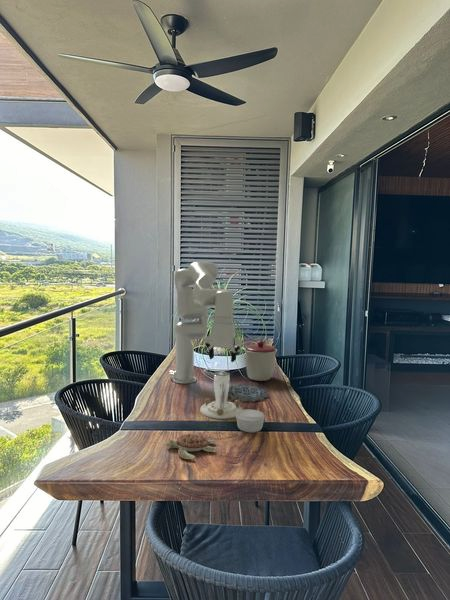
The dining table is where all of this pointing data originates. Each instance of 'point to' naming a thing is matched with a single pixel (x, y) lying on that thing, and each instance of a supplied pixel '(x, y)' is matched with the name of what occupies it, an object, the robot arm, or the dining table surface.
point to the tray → (225, 414)
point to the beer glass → (221, 389)
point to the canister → (260, 361)
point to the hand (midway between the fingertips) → (222, 359)
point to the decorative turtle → (190, 445)
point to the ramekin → (250, 420)
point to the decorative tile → (247, 393)
